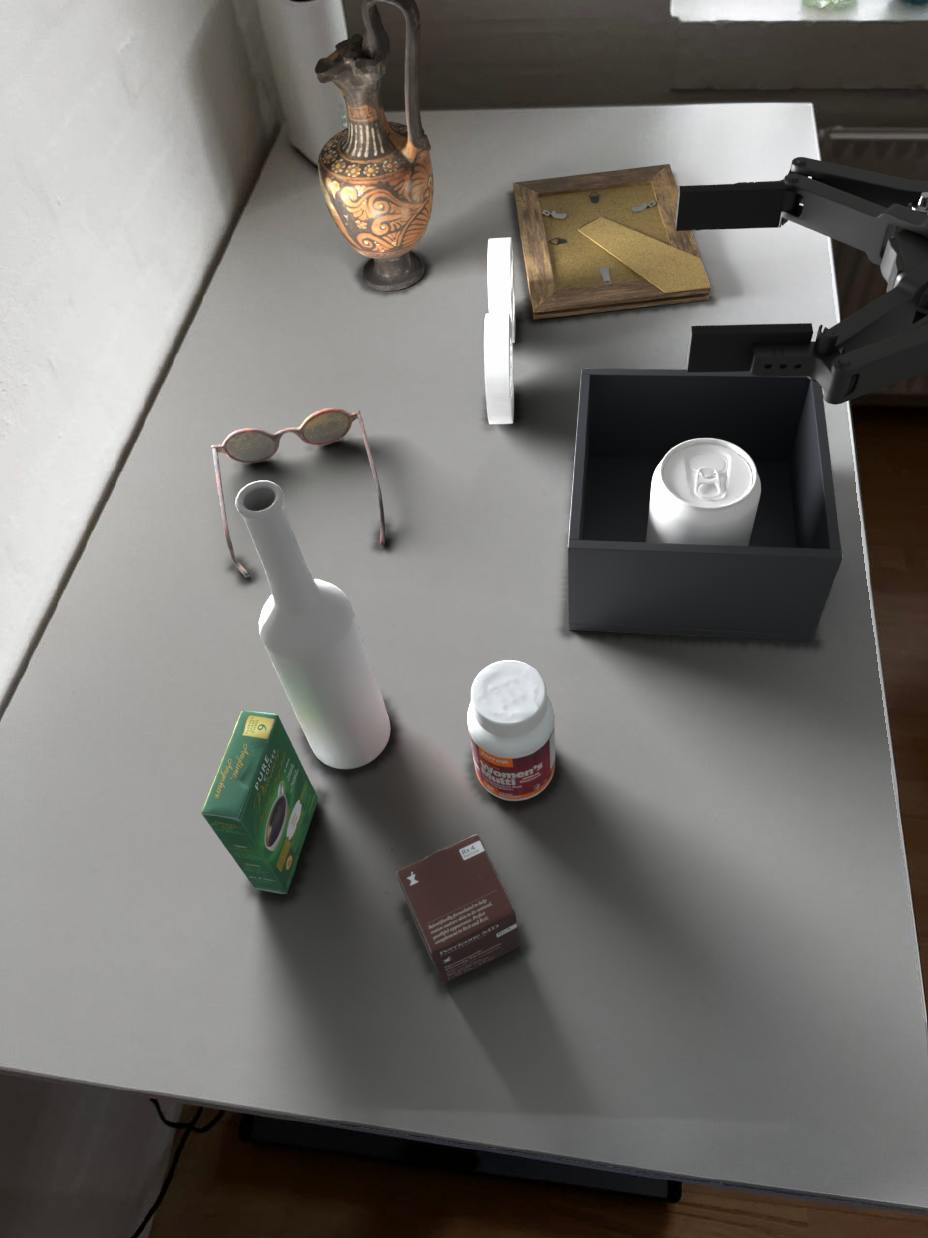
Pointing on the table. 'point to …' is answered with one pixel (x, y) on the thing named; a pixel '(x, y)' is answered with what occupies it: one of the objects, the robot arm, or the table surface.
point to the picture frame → (606, 243)
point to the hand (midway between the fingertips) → (682, 274)
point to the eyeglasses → (263, 445)
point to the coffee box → (261, 801)
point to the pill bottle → (512, 730)
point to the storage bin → (692, 573)
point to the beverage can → (704, 495)
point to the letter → (500, 332)
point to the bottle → (314, 642)
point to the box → (460, 908)
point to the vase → (378, 154)
